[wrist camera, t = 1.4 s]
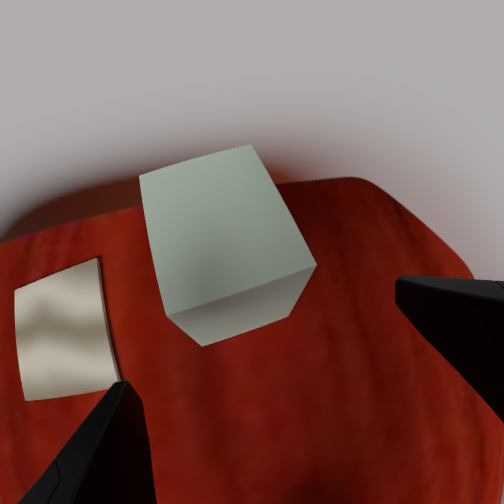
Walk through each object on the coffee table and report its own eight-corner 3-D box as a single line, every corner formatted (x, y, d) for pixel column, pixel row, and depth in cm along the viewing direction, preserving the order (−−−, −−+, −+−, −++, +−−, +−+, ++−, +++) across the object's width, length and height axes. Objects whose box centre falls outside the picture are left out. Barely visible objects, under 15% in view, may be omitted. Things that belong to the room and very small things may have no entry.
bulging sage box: (287, 316, 21) (316, 264, 13) (202, 346, 20) (166, 315, 11) (249, 227, 25) (251, 144, 16) (174, 251, 24) (139, 175, 15)
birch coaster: (122, 385, 18) (119, 385, 18) (29, 400, 16) (25, 400, 16) (99, 260, 23) (96, 257, 23) (18, 292, 21) (14, 290, 21)
